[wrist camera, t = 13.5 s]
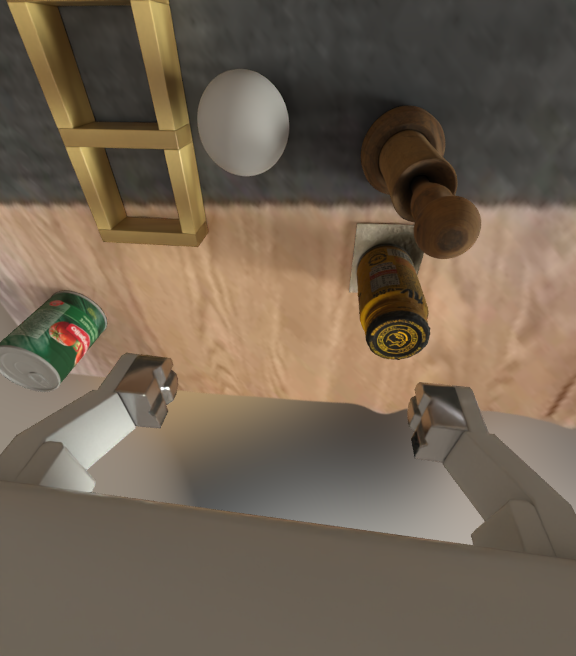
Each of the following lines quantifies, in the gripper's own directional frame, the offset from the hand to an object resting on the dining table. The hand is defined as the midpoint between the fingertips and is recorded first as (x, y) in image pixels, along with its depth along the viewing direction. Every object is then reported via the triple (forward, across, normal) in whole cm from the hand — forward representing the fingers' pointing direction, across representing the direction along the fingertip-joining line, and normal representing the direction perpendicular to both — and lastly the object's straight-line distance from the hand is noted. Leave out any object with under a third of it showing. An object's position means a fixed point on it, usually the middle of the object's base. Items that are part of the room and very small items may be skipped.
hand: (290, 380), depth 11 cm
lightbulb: (+26, +5, -4) cm, 27 cm away
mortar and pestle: (+26, -7, -2) cm, 27 cm away
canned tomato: (+26, +33, +21) cm, 47 cm away
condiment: (+26, -8, +10) cm, 29 cm away
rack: (+26, +17, -2) cm, 31 cm away
